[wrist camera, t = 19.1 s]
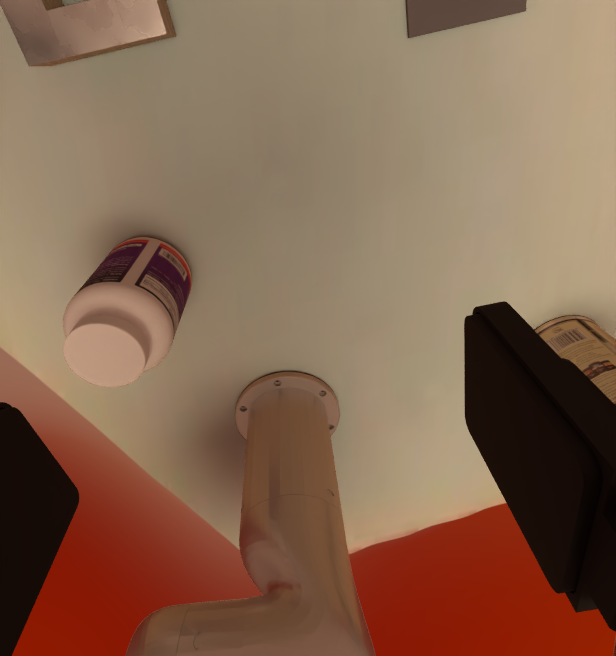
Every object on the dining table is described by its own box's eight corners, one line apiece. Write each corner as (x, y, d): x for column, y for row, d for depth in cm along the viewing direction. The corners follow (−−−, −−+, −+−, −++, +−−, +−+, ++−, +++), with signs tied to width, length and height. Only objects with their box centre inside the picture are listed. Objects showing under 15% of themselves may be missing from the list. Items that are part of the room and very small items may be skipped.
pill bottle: (105, 297, 44) (40, 389, 32) (112, 223, 40) (41, 294, 28) (186, 316, 46) (154, 410, 33) (200, 246, 42) (170, 323, 30)
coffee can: (551, 398, 55) (627, 491, 43) (497, 363, 52) (564, 454, 40) (620, 341, 51) (726, 426, 39) (567, 298, 48) (665, 378, 36)
